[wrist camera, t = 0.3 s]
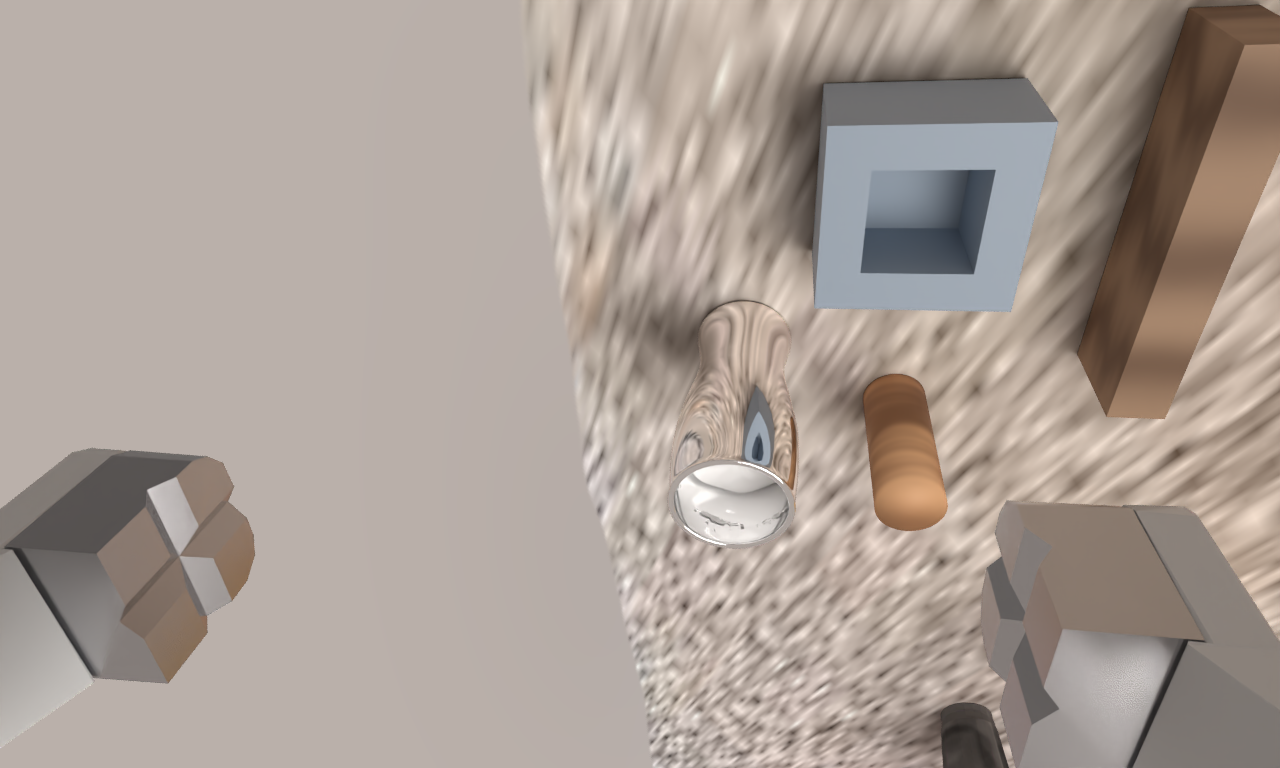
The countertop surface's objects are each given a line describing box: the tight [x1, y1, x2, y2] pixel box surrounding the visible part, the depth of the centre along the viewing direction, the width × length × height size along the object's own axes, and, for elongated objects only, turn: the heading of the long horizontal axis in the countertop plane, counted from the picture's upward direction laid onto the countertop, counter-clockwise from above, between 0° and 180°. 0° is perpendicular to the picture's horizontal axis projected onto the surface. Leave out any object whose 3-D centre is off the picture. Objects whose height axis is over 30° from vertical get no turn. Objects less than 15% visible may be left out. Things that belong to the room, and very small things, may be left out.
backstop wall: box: [1077, 5, 1280, 419], centre depth 41 cm, size 20×3×6 cm, turn 4°
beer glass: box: [668, 301, 799, 549], centre depth 47 cm, size 7×7×15 cm
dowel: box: [863, 374, 948, 531], centre depth 50 cm, size 4×4×10 cm
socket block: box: [812, 78, 1058, 312], centre depth 42 cm, size 10×10×6 cm
